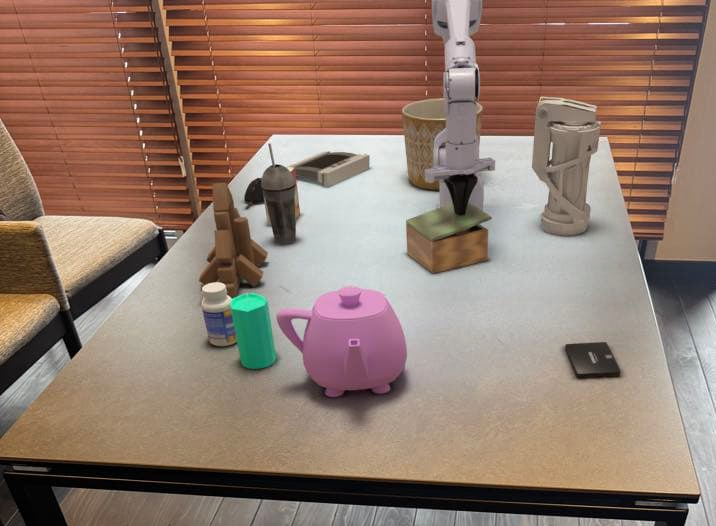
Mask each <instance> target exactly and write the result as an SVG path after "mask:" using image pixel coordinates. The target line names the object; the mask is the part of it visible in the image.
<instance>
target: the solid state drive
mask: <svg viewBox="0 0 716 526" xmlns="http://www.w3.org/2000/svg"><path fill="white" fill-rule="evenodd" d="M564 349H565V352H566V354H567V357H568V360H569V361H570V364H571V367H572V369H573V372H574V374H575V377H576V378H580V379H581V378H583V377H602V376H609V377H619V376H621V369H620V367H619V365H618V362H617V360H616V359H615V357H614V355H613V352H612V350H611V349H610V347H609V345H608V343H607V342H606V341H598V342H597V341H596V342H579V343H577V342H576V343H566V344H565V345H564Z"/></svg>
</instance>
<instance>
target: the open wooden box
mask: <svg viewBox="0 0 716 526" xmlns="http://www.w3.org/2000/svg"><path fill="white" fill-rule="evenodd" d="M470 228H471V229H470V232H469V233H464V234H460V235H455V236H451V237H446V238H442V239H439V240H436V241H433V242H432V241H431V240H429V239H428V238H427V237H425V236H424V235H422V234H421V233H420V232H418V231H417V230H415V229H414V228H413V227H411V226H410V225H408V224H407V223H406V222H405V231H406V232H405V233H406V235H405V236H406V255H408V256H409V257H411V258H412V259H413V260H415V261H416V262H417V263H419V264H420V266H422V267H423V268H425V269H426V270H427V271H429V272H430V273H431V274H436V273H441V272H445V271H448V270H453V269H457V268H461V267H467V266H471V265H474V264H478V263H483V262H486V261H488V249H489V248H488V247H489V246H488V245H489V229H488V228H487V227H485V226H483V225H482V224H481V223H480V224H478V225H475V226H473V227H470Z"/></svg>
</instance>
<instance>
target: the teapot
mask: <svg viewBox="0 0 716 526" xmlns="http://www.w3.org/2000/svg"><path fill="white" fill-rule="evenodd" d="M275 318H276V323H277V325H278V327H279V329H280V330H281V332H282V334H283V335H284V336H285V337H286V338H287V339H288V340H289V341H290V342H291V343H292V345H293V346H294V347H295V348H296V349H298V351H299V352H300V353H301V354H302V363H303V366H304V369H305V371H306V373H307V375H308V376H309V377H310V378H311V379H312V380H313V381H314V382H315V383H316V384H317V385H319V386H321V387H323V388H325V391H324V394H325V395H326V396H328V397H331V398H337V397H340V396H342V395H343V394H344V393H345V391H359V390H361V391H362V390H367V389H371V391H372V392H374V393H376V394H385V393H388V392H390V390H391V386H390V383H392V382H394V381H395V380H396V379H397V378H398V377H399V376H400V374H401V373H402V371H403V369H404V368H405V367H406V363H407V358H408V348H407V341H406V337H405V333H404V329H403V326H402V324H401V322H400V320H399V317H398V315H397V314H396V312H395V310H394V308H393V306H392V304H391V303H390V302H389V300H388V298H387V297H386V296H385V294H384V293H382V292H380V291H379V290H375V289H369V288H360V287H358V286H355V285H348V286H343V287H341V288H339V289H338V290H334V291H329V292H326V293H323V294H321V295H320V296H319V297H317V298H316V300H315V301H314V303H313V306H312V309H311V310H308V309H302V308H292V307H291V308H282V309H281V310H279V311H277V314H276V317H275ZM297 319H298V320H299V319H300V320H307V321H306V325H305V328H304V333H303V338H302V339H301V337H300V336H299V335H298V333H297V331H296V330H295V328H294V325H293V323H292V321H293V320H297Z"/></svg>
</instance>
